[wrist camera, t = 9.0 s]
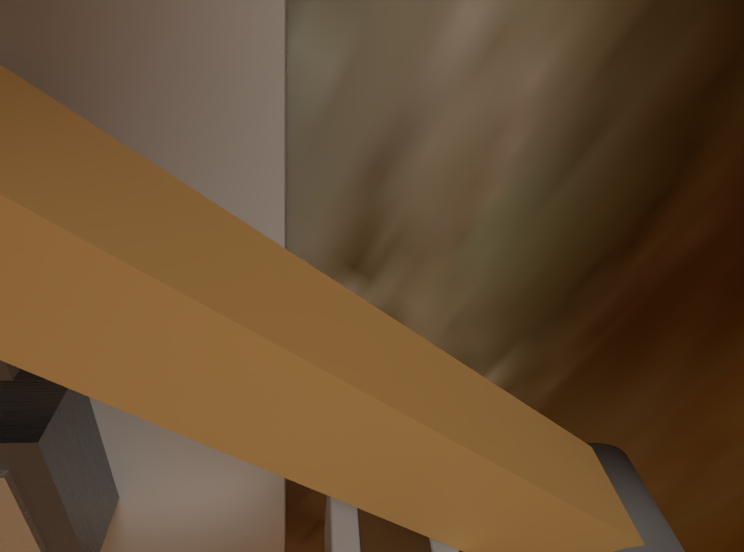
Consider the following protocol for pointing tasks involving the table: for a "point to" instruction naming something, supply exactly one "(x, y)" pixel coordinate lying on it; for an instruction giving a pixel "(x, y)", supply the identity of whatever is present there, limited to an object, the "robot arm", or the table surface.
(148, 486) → the board
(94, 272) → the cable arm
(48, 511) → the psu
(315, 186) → the table surface
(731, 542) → the table surface
